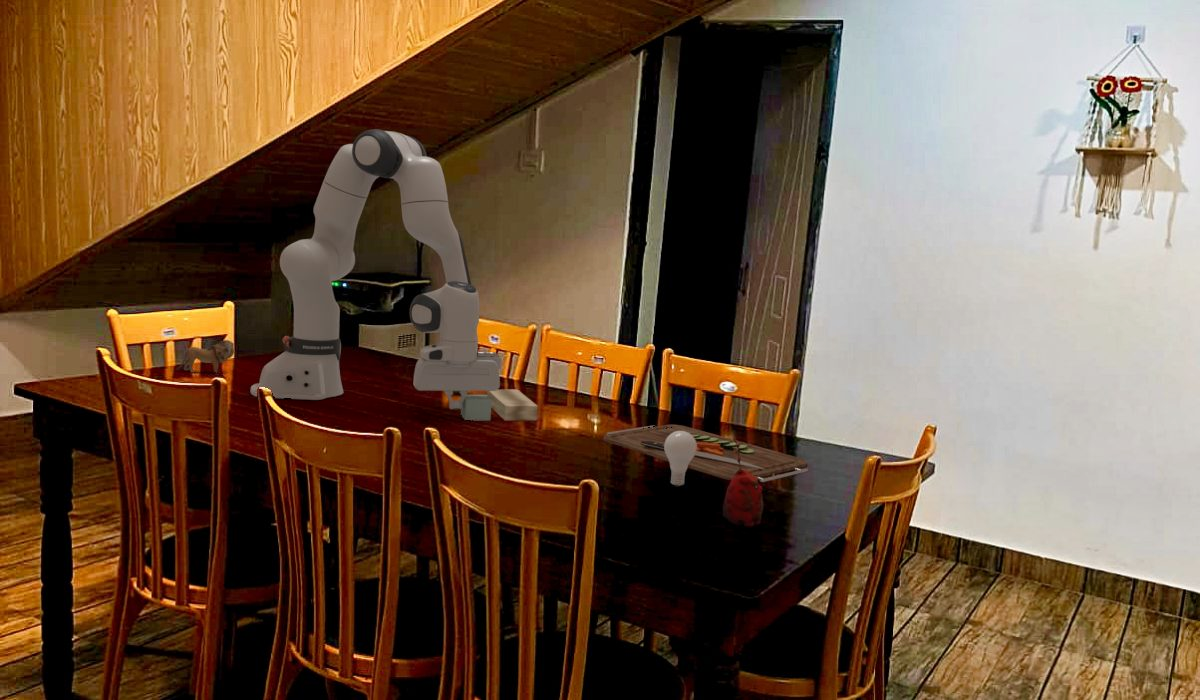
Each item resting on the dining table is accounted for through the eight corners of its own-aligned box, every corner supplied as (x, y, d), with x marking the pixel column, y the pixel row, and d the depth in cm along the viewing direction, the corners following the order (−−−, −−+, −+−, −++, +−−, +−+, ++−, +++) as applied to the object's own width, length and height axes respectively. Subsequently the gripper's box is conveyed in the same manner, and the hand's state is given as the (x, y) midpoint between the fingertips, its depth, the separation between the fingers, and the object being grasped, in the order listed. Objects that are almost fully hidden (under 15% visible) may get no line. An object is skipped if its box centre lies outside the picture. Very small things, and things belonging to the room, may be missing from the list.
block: (465, 420, 244) (466, 399, 244) (460, 414, 250) (461, 394, 249) (490, 420, 246) (491, 400, 246) (485, 414, 252) (486, 394, 251)
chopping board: (822, 470, 225) (823, 456, 224) (746, 488, 206) (748, 473, 206) (667, 426, 256) (668, 414, 256) (590, 439, 238) (591, 426, 237)
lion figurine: (234, 371, 282) (235, 338, 281) (232, 375, 277) (233, 342, 276) (177, 369, 279) (177, 336, 278) (174, 373, 274) (174, 339, 272)
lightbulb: (691, 482, 206) (696, 428, 204) (695, 491, 199) (700, 436, 198) (659, 480, 205) (664, 426, 204) (662, 489, 199) (667, 433, 197)
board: (504, 420, 248) (505, 406, 247) (486, 402, 266) (487, 389, 266) (536, 420, 250) (537, 406, 250) (516, 402, 269) (517, 389, 268)
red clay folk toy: (761, 530, 178) (769, 446, 176) (720, 525, 180) (728, 441, 177) (761, 517, 186) (770, 436, 184) (722, 513, 187) (730, 432, 185)
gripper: (498, 350, 250) (495, 406, 252) (413, 348, 244) (411, 405, 246) (504, 354, 244) (501, 411, 246) (417, 352, 238) (414, 411, 240)
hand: (455, 408), depth 246 cm, fingers closed
